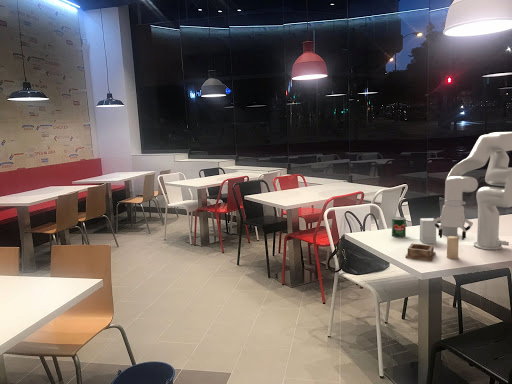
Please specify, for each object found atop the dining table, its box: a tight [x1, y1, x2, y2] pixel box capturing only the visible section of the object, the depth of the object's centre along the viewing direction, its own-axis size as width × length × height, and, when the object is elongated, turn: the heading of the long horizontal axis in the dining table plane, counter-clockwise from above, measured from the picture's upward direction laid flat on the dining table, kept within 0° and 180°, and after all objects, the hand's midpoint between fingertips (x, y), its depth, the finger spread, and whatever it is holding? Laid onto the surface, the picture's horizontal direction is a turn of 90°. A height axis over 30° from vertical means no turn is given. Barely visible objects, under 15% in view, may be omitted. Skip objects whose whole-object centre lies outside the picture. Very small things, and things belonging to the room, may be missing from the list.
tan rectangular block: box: [446, 236, 460, 260], centre depth 191 cm, size 5×5×10 cm
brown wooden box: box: [405, 243, 436, 262], centre depth 196 cm, size 12×12×4 cm
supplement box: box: [419, 217, 437, 244], centre depth 220 cm, size 7×7×13 cm
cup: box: [442, 226, 458, 237], centre depth 233 cm, size 8×8×10 cm
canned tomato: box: [391, 216, 407, 239], centre depth 234 cm, size 8×8×11 cm
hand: (451, 238), depth 190 cm, fingers open, 9 cm apart
